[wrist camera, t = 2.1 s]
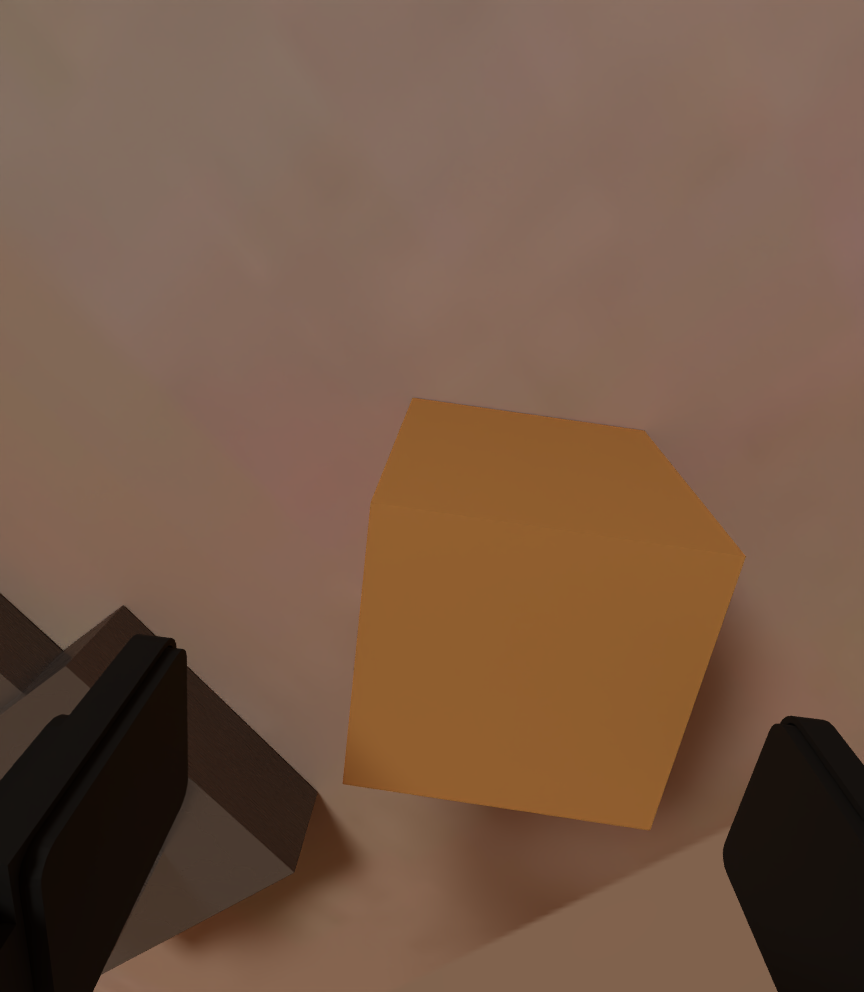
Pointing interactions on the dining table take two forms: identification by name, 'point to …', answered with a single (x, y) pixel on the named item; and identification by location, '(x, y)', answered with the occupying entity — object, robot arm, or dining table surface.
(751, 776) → the robot arm
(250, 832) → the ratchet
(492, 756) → the orange cube
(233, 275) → the dining table surface
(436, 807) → the dining table surface
